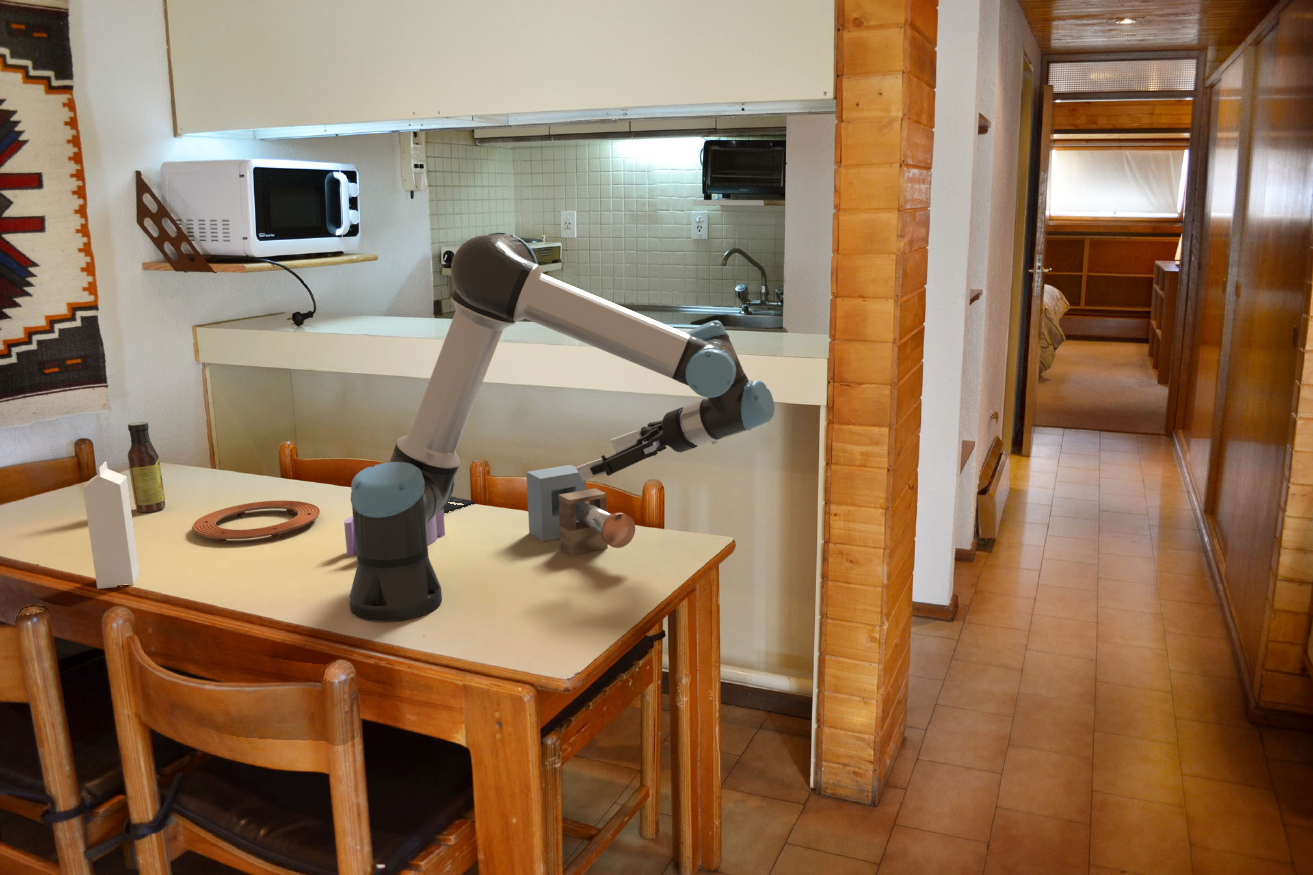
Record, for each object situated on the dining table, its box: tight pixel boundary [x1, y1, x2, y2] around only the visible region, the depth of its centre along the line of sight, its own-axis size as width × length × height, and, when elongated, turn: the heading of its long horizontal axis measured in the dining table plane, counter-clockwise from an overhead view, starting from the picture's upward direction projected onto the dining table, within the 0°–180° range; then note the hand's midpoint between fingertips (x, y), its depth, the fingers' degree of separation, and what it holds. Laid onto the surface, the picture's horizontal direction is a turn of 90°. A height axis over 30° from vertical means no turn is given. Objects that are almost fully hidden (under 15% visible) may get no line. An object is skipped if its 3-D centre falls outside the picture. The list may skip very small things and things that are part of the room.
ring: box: [191, 499, 321, 544], centre depth 220 cm, size 25×25×2 cm
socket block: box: [526, 464, 587, 542], centre depth 211 cm, size 10×6×13 cm, turn 121°
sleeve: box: [559, 488, 609, 556], centre depth 202 cm, size 8×4×11 cm, turn 121°
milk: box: [82, 460, 140, 590], centre depth 187 cm, size 6×6×22 cm
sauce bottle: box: [127, 421, 166, 513], centre depth 232 cm, size 7×6×20 cm
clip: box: [343, 509, 446, 557], centre depth 207 cm, size 20×12×7 cm, turn 143°
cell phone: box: [443, 496, 476, 514], centre depth 230 cm, size 9×18×1 cm, turn 145°
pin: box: [575, 501, 636, 549], centre depth 196 cm, size 6×18×6 cm, turn 31°
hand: (597, 459), depth 194 cm, fingers open, 13 cm apart
